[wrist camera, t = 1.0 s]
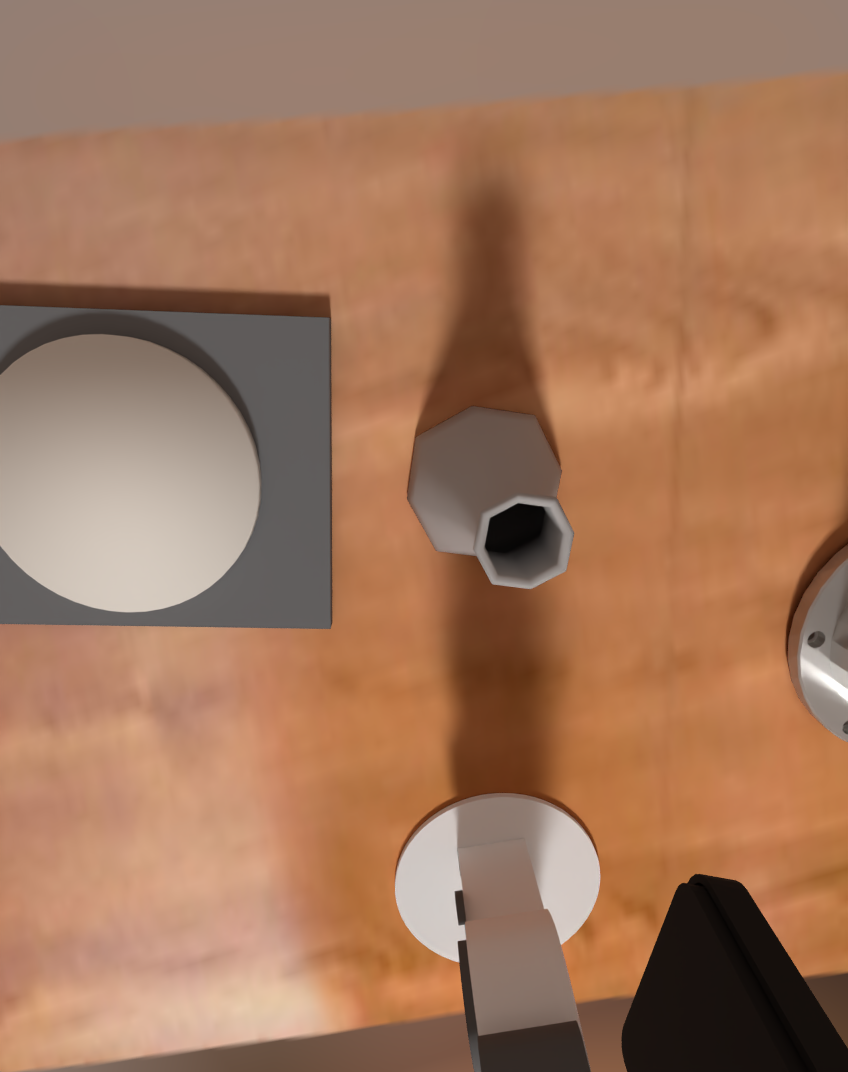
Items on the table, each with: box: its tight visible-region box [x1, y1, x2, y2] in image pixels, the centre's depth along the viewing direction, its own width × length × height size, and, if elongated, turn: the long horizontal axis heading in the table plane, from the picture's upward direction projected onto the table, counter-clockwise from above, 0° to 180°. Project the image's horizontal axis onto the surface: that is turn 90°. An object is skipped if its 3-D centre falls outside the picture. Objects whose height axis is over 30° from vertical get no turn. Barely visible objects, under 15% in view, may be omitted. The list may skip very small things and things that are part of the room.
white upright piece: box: [395, 793, 600, 1072], centre depth 28 cm, size 12×11×15 cm
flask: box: [407, 406, 574, 589], centre depth 25 cm, size 7×7×10 cm
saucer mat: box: [0, 305, 332, 629], centre depth 28 cm, size 18×14×2 cm
